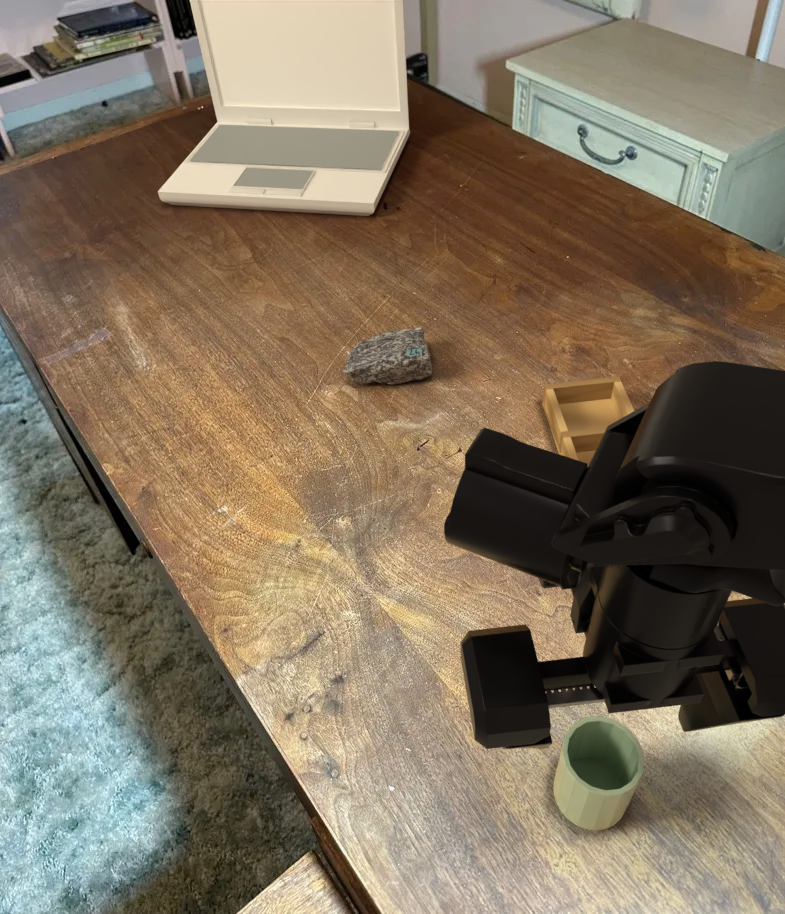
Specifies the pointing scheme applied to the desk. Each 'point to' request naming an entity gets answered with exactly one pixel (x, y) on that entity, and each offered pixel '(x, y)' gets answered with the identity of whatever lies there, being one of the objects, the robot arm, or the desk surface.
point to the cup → (597, 772)
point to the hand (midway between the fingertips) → (611, 732)
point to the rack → (583, 413)
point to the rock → (390, 358)
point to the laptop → (298, 106)
